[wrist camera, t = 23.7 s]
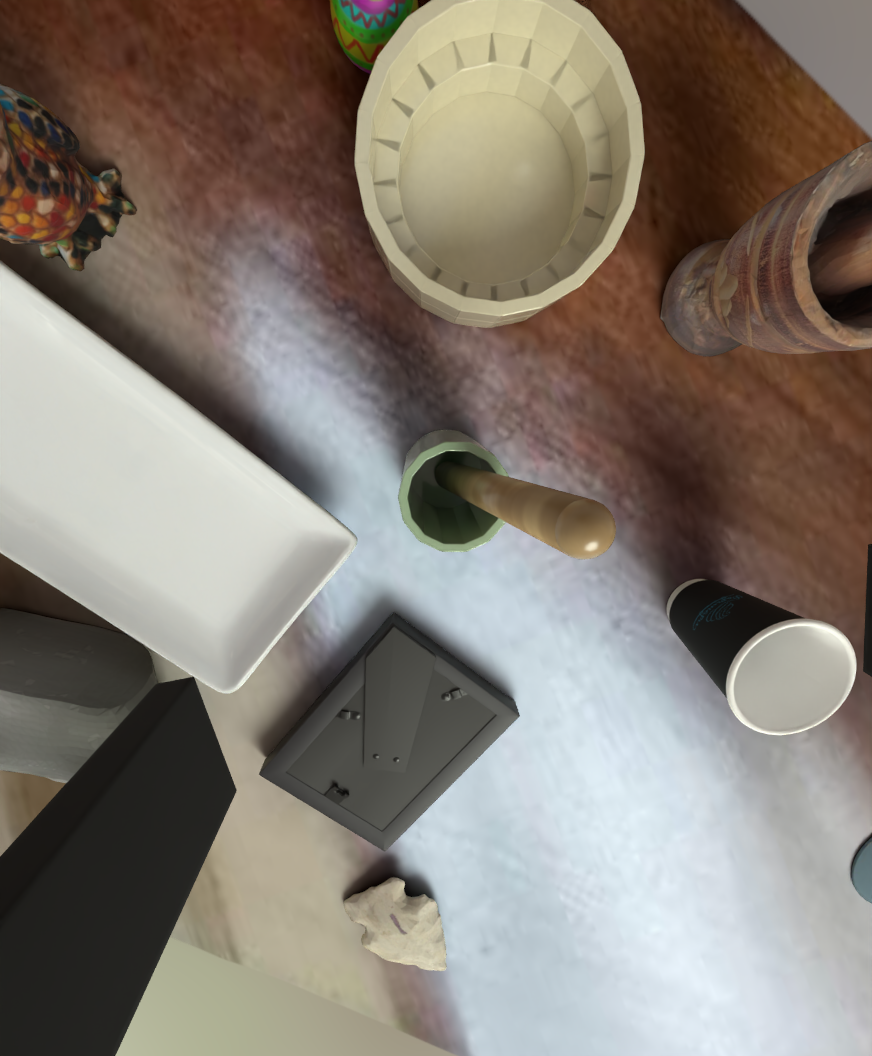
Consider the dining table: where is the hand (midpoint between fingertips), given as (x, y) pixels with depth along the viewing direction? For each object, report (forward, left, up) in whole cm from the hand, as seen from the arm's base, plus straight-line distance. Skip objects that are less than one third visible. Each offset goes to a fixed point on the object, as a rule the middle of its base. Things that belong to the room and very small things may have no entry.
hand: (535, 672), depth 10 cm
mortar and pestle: (-22, -9, -29) cm, 37 cm away
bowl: (-6, -17, -28) cm, 33 cm away
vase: (0, 0, -28) cm, 28 cm away
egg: (-1, -26, -29) cm, 39 cm away
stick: (0, 0, -28) cm, 28 cm away
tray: (+23, -4, -29) cm, 37 cm away
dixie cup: (-18, +15, -29) cm, 37 cm away
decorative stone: (+12, +42, -29) cm, 52 cm away
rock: (+33, +11, -29) cm, 45 cm away
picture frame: (+9, +21, -29) cm, 37 cm away
